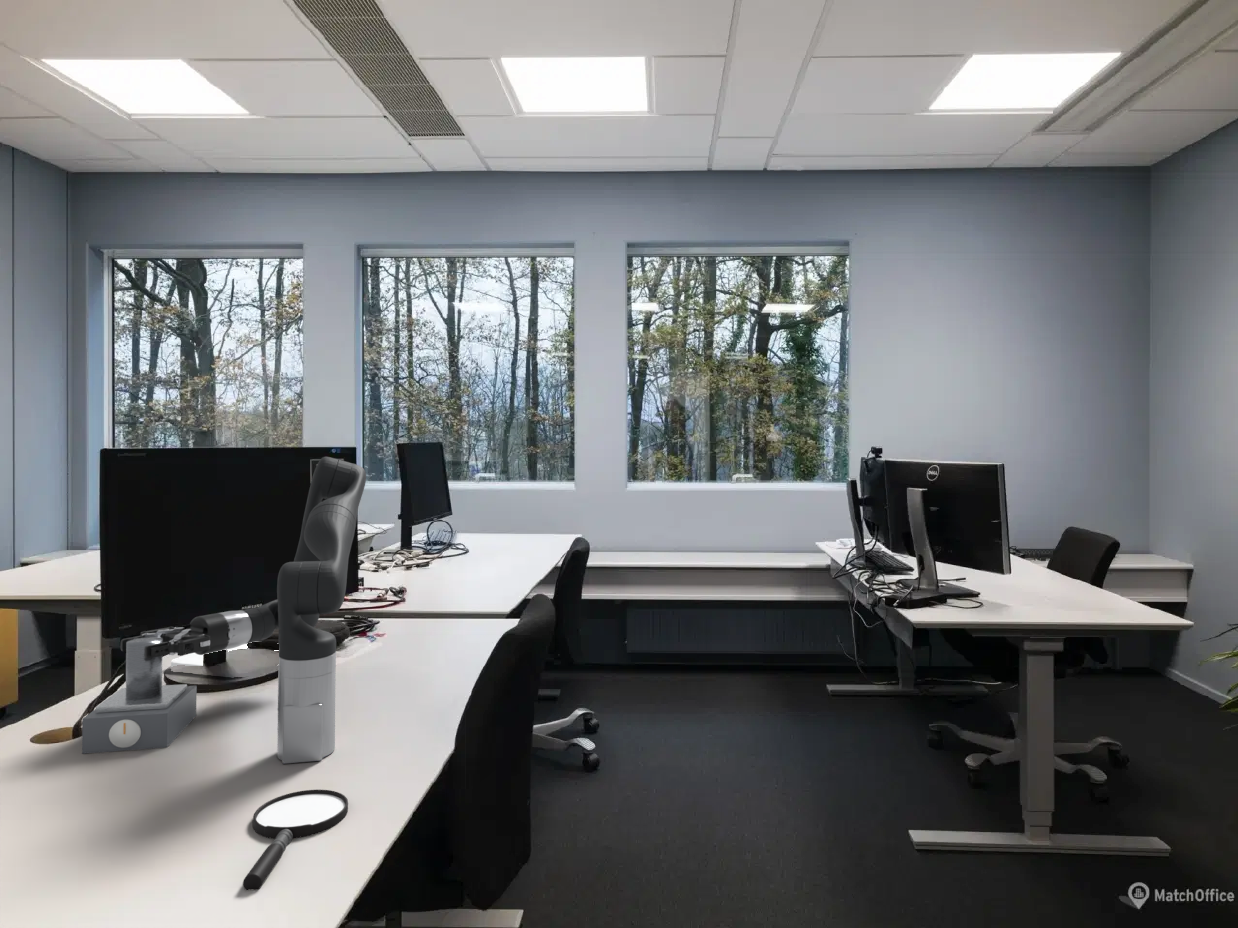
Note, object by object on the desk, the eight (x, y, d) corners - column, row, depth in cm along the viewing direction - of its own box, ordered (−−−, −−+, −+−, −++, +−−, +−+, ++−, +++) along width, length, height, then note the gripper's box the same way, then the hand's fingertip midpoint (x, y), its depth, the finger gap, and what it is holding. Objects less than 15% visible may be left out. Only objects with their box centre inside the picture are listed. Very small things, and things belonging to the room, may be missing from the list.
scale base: (166, 748, 127) (166, 714, 127) (80, 754, 123) (81, 719, 123) (196, 715, 143) (196, 685, 143) (121, 720, 139) (121, 689, 139)
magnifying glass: (196, 895, 85) (196, 876, 85) (272, 802, 109) (272, 788, 109) (306, 890, 86) (306, 871, 86) (357, 799, 110) (357, 785, 110)
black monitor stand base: (163, 673, 172) (163, 661, 172) (233, 649, 193) (233, 639, 193) (241, 680, 166) (241, 669, 166) (304, 656, 188) (305, 645, 188)
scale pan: (166, 708, 129) (166, 702, 129) (95, 712, 126) (95, 707, 126) (186, 689, 140) (186, 684, 140) (122, 692, 137) (122, 687, 137)
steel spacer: (155, 698, 131) (156, 643, 131) (120, 700, 130) (121, 645, 130) (166, 689, 137) (167, 636, 137) (133, 690, 135) (133, 637, 135)
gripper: (200, 608, 149) (113, 623, 135) (241, 617, 142) (154, 633, 128) (200, 645, 149) (113, 663, 135) (241, 655, 142) (153, 675, 128)
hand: (133, 648), depth 132 cm, fingers open, 8 cm apart
